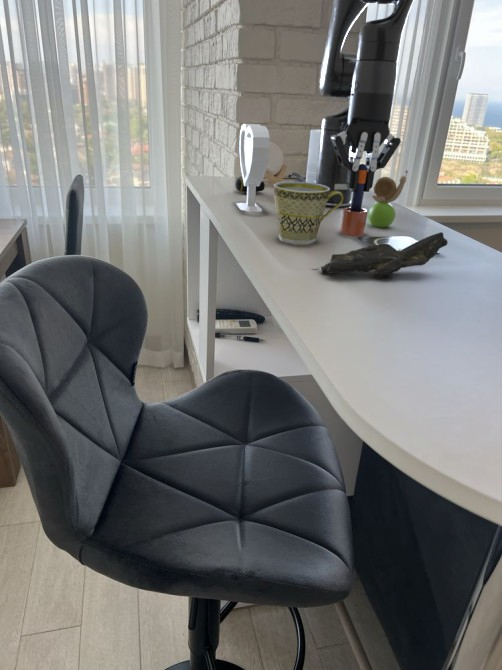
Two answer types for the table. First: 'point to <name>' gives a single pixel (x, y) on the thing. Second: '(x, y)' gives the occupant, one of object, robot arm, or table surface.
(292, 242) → the ceramic cup
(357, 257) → the dark brown elongated chunk
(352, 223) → the pen pot
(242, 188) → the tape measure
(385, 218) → the snail figurine
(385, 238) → the shiny silver plate
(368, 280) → the table surface
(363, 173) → the marker
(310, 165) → the cosmetic box
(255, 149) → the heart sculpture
